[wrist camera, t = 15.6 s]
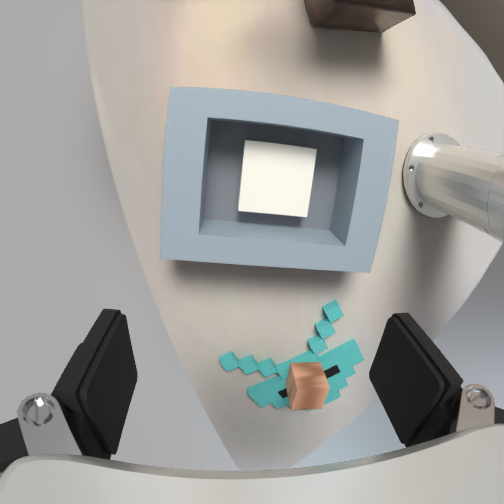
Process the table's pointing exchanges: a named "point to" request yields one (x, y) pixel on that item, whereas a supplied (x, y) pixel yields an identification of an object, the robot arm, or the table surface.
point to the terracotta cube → (306, 385)
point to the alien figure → (333, 361)
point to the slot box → (273, 180)
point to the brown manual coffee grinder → (359, 14)
